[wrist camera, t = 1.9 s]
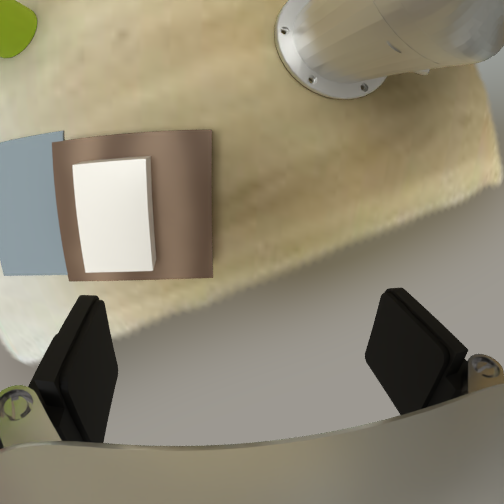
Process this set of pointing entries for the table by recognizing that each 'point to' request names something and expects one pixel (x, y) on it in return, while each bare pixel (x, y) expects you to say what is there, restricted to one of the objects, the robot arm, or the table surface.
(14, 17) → the soap dispenser
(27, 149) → the mat
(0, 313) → the table surface
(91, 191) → the tile
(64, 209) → the brown wooden block
